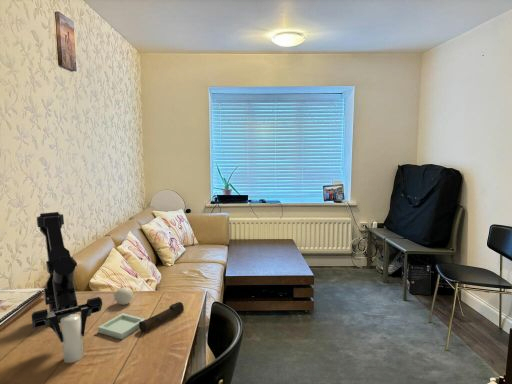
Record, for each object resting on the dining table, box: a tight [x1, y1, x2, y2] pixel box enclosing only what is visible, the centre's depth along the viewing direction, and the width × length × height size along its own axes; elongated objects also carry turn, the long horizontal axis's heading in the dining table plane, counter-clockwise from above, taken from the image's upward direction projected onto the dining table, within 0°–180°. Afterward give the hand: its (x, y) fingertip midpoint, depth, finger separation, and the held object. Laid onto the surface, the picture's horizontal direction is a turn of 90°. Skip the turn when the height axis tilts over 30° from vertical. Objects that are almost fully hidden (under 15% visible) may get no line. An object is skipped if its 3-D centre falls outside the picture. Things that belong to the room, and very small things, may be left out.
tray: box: [97, 313, 147, 340], centre depth 121 cm, size 11×11×2 cm
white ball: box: [113, 286, 134, 306], centre depth 141 cm, size 7×7×7 cm
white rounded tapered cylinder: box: [60, 313, 84, 364], centre depth 103 cm, size 5×5×12 cm
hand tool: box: [138, 301, 185, 334], centre depth 126 cm, size 19×4×5 cm, turn 142°
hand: (72, 338), depth 102 cm, fingers closed on white rounded tapered cylinder, 5 cm apart
